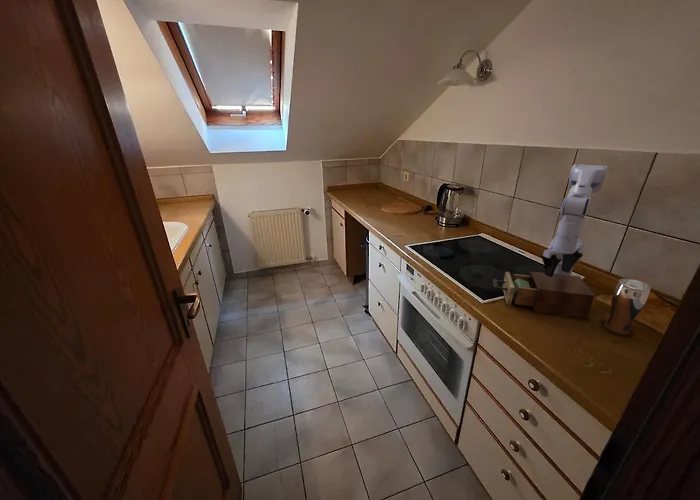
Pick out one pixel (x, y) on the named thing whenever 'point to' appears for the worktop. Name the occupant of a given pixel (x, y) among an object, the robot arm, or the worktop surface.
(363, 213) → the worktop surface
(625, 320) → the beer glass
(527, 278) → the drawer
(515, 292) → the block
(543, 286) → the cabinet
